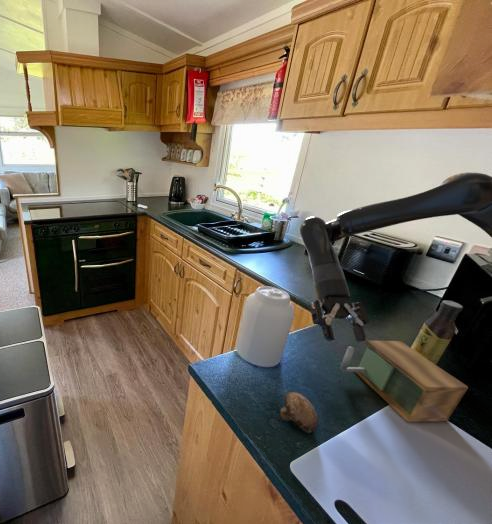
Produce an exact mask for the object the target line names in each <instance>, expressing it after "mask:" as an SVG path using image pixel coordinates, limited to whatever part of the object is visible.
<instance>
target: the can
mask: <svg viewBox="0 0 492 524" xmlns="http://www.w3.org/2000/svg"><path fill="white" fill-rule="evenodd" d="M294 319H295V306H294V305H293V304H292V303H291V296H290V294H289V293H288V292H287V291H285V290H283V289H281V288H278V287H275V286H271V285H270V286H269V285H262V286H258V287H257V288H256V289H255V290H254V292H253V293H251V294H249V295H247V297H246V299H245V301H244V306H243V310H242V315H241V319H240V324H239V329H238V331H237V336H236V341H235V346H234V347H235V350H236V352H237V354H238V356H239V357H241V358H242V359H243V360H244V361H245V362H248V363H249V364H252V365H254V366H257V367H260V368H272V367H275V366H278V364H280V362H281V361H282V358H283V355H284V352H285V349H286V346H287V341H288V338H289V336H290V332H291V329H292V327H293V326H292V325H293V322H294Z"/></svg>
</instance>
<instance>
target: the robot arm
mask: <svg viewBox="0 0 492 524" xmlns="http://www.w3.org/2000/svg"><path fill="white" fill-rule="evenodd" d="M455 215H458V216H460V217H461V218H463V219H465V220H467V221H468V222H470V223H472V224H474V225H475V226H477V227H478V228H480V229H481V230H482V231H483V232H484V233H486V234H487V235H488V236H489V237H490V238H492V176H491V175H489V174H486V173H483V172H482V173H481V172H462V173H461V172H460V173H457V174H454V175H452V176H451V175H450V176H449V177H447V178H446V179H444V180H443V181H442V182H441V183H440V184H439V185H438V186H436V187H433V188H431V189H429V190H426V191H422V192H420V193H415V194H412V195H410V196H406V197H401V198H397V199H392V200H387V201H382V202H377V203H371V204H368V205H364V206H359V207H357V208H352V209H349V210H346V211H343V212H341V213H338V215H337V216H336V219H333V220H331V221H328V222H326V221H325V220H324V219H323V218H321V217H317V216H310V217H307V218H305V219H304V220H303V221H302V223H301V225H300V227H299V232H300V237H301V240H302V242H303V245H304V247H305V250H306V251H307V254H308V255H307V256H308V260H309V264H310V268H311V271H312V279H313V283H314V288H315V291H316V295H317V299H318V300H317V299H316V300H313V301H312V302H309V309H310V314H311V320H312V323H313V324H314V325H319V326H320V327H321V331H322V334H323V337H324V339H325V340H326V342H333V341H335V335H334V331H333V327H332V325H331V323H332V322H333V321H332V320H334V319H339V320H341V319H343V320H344V321H345V322H348V323H349V324H350V325H351V326H352V331H353V334H354V337H355V341H356V342H359V343H360V342H366V337H367V336H366V334H365V330H364V326H366V325H367V324H370V320H369V317H368V314H367V312H366V309H365V307H364V304H363V302H362V301H358V302H357V301H356V302H352V301H351V300H350V296H351V293H350V289H349V286H348V283H347V280H346V277H345V273H344V270H343V268H342V267H341V264H340V263H341V262H340V260H339V257H338V254H337V251H336V249H335V247H334V246H333V244H332V243H335V242H337V241H340V240H342V239H344V238H346V237H348V236H354V235H359V234H362V233H367V232H371V231H376V230H379V229H384V228H387V227H391V226H395V225H396V226H397V225H399V224H403V223H408V222H413V221H418V220H425V219H430V218H431V219H432V218H438V217H446V216H455ZM322 311H323V312H322Z"/></svg>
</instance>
